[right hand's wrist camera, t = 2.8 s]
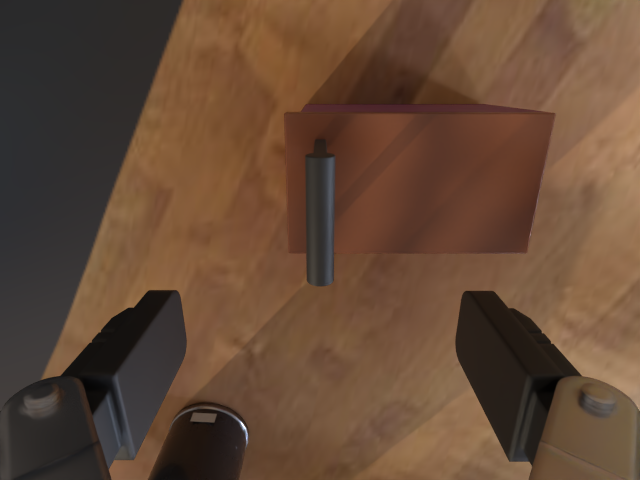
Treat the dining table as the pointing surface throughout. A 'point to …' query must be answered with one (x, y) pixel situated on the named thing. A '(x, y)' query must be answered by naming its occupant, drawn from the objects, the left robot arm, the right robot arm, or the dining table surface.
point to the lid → (411, 183)
